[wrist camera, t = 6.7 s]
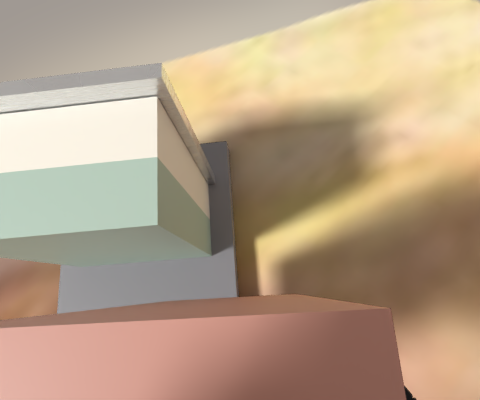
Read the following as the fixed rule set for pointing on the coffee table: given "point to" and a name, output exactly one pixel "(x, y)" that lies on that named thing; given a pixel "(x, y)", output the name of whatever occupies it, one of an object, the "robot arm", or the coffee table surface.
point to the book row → (100, 186)
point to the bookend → (105, 97)
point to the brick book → (205, 352)
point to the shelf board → (165, 262)
